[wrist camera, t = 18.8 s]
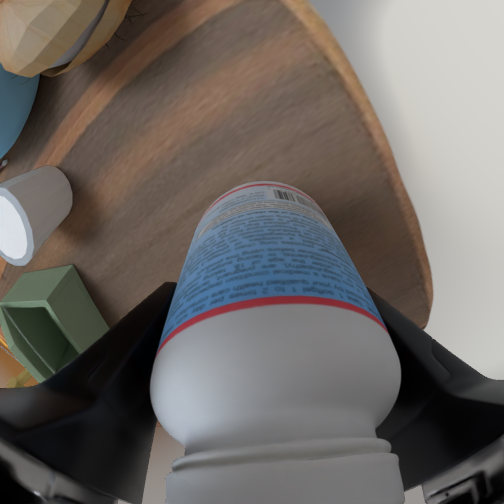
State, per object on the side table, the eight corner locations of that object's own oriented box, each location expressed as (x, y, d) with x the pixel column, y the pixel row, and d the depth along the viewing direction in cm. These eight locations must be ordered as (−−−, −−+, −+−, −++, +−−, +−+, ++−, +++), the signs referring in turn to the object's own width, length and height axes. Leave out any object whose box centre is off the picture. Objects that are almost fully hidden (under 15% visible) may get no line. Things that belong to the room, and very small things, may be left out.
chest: (73, 264, 24) (45, 300, 19) (121, 345, 30) (107, 382, 26) (23, 272, 25) (-1, 302, 20) (70, 344, 31) (55, 374, 26)
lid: (14, 343, 14) (-16, 373, 11) (91, 421, 21) (68, 444, 18) (-1, 303, 20) (-24, 325, 17) (55, 375, 26) (36, 394, 23)
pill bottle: (170, 232, 12) (69, 494, 3) (279, 149, 10) (436, 503, 1) (250, 311, 15) (253, 530, 5) (349, 252, 13) (448, 483, 3)
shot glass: (90, 193, 20) (44, 232, 14) (59, 239, 22) (21, 281, 16) (45, 143, 17) (-9, 167, 11) (19, 194, 20) (-25, 226, 14)
